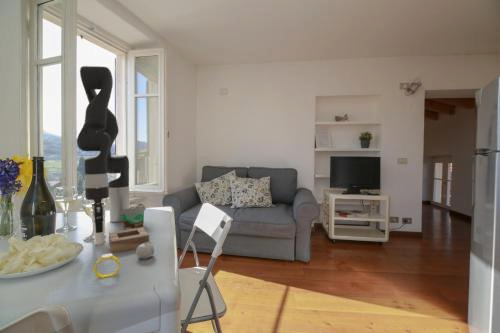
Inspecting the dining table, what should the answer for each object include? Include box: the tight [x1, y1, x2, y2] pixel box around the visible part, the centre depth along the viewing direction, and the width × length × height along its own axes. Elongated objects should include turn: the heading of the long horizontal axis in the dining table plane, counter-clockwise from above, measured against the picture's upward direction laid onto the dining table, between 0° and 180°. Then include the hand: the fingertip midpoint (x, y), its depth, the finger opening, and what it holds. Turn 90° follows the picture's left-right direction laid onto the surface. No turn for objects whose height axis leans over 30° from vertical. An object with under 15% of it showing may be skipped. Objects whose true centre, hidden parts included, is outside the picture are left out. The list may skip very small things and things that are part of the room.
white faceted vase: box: [90, 209, 107, 246], centre depth 91 cm, size 5×4×15 cm
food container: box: [121, 203, 146, 230], centre depth 110 cm, size 12×6×10 cm, turn 168°
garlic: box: [135, 241, 155, 260], centre depth 78 cm, size 6×5×5 cm
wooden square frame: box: [108, 226, 150, 254], centre depth 90 cm, size 12×12×4 cm
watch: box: [93, 253, 121, 279], centre depth 66 cm, size 6×3×6 cm, turn 112°
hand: (99, 230), depth 92 cm, fingers closed on white faceted vase, 4 cm apart
